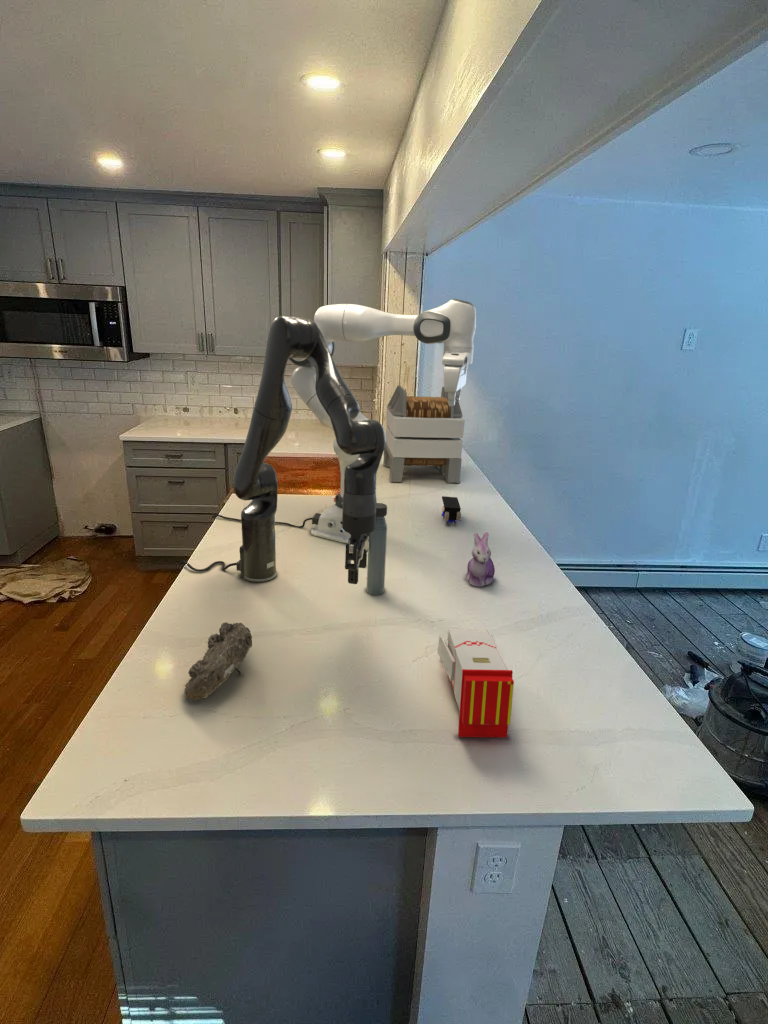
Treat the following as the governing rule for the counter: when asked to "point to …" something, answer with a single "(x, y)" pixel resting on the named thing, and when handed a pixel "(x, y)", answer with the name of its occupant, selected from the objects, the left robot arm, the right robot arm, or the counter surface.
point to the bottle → (377, 558)
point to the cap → (381, 510)
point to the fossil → (218, 660)
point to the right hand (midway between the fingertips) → (454, 403)
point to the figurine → (480, 562)
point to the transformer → (423, 434)
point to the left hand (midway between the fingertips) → (357, 575)
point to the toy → (478, 682)
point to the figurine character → (451, 509)
